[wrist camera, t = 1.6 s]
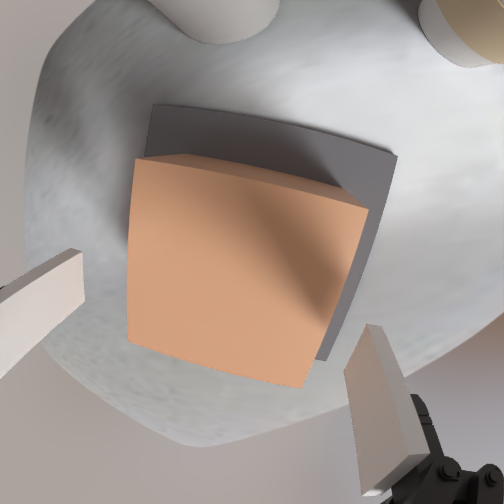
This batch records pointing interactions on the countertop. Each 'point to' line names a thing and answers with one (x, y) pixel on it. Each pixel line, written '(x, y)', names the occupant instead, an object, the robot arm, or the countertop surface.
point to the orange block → (236, 264)
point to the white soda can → (219, 18)
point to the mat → (285, 168)
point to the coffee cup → (465, 30)
